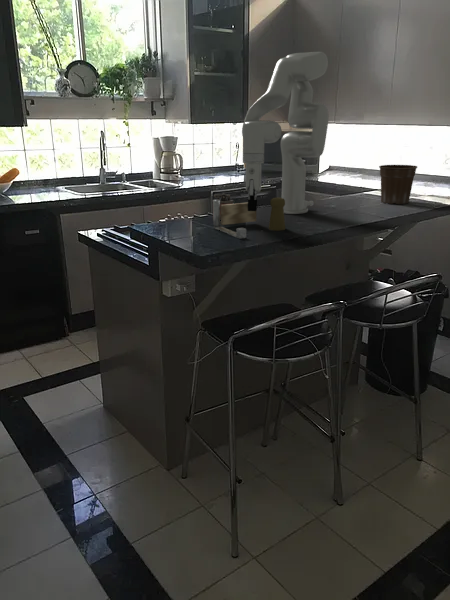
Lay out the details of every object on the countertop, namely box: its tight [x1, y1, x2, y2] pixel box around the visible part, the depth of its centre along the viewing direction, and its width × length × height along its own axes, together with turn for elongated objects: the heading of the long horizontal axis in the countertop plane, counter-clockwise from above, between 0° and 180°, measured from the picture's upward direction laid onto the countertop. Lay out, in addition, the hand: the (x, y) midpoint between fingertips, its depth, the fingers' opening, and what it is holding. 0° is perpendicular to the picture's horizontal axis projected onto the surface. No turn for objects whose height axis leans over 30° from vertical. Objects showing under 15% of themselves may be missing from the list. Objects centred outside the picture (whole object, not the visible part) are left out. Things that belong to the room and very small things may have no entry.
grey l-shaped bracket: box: [212, 199, 247, 239], centre depth 176 cm, size 20×2×10 cm, turn 29°
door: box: [220, 201, 257, 226], centre depth 188 cm, size 14×3×7 cm, turn 117°
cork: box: [268, 196, 286, 232], centre depth 182 cm, size 6×6×11 cm
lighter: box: [211, 192, 234, 220], centre depth 197 cm, size 8×3×10 cm, turn 92°
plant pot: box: [378, 164, 418, 205], centre depth 231 cm, size 16×16×16 cm
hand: (252, 210), depth 186 cm, fingers closed
